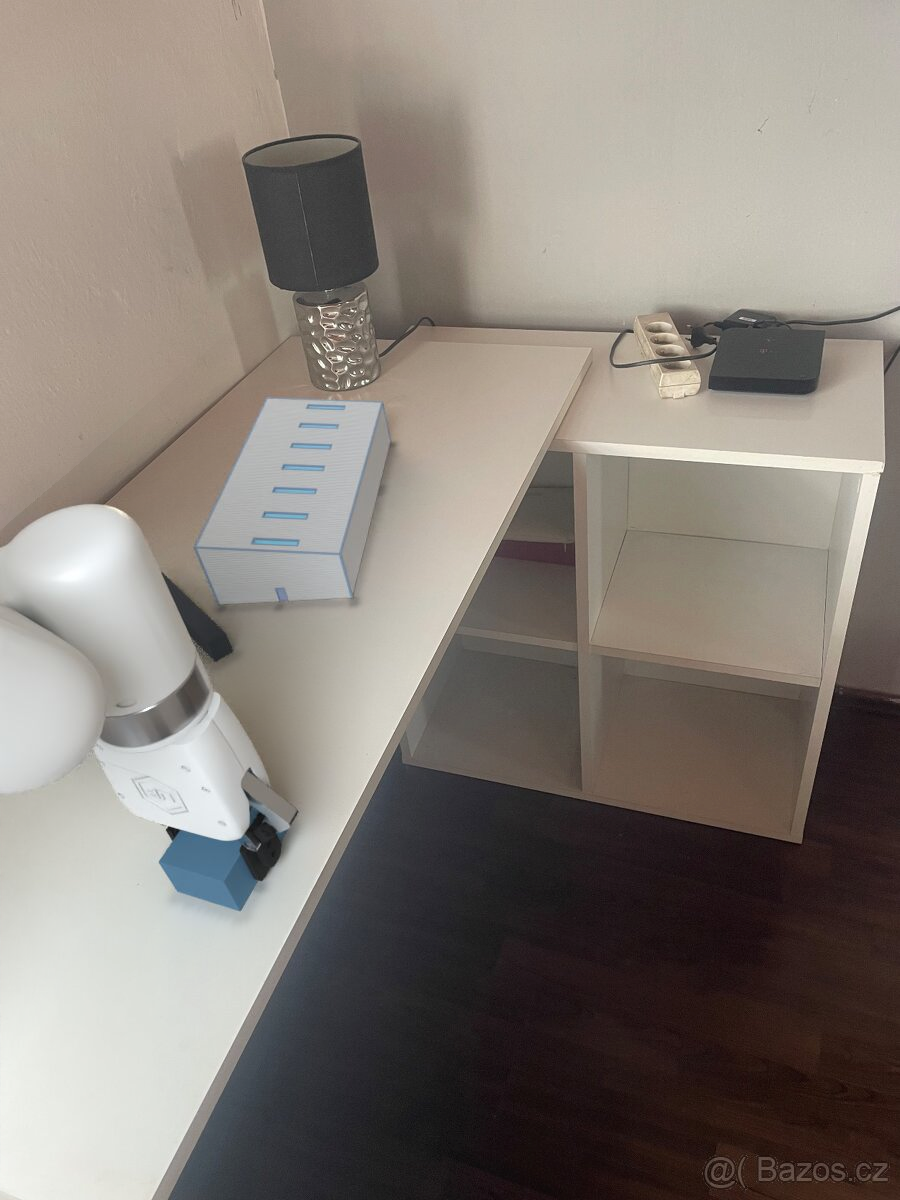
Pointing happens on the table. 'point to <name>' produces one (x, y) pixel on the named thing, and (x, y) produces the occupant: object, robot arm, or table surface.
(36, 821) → the table surface
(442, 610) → the table surface
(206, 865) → the blue rectangular block
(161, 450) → the table surface
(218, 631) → the dark grey u-frame
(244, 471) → the warehouse
